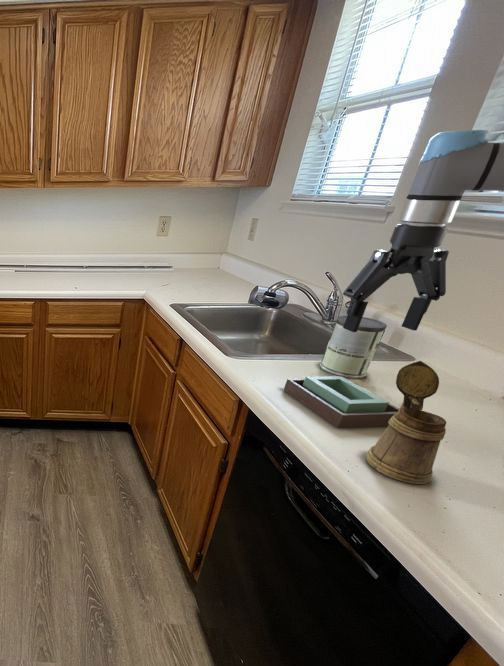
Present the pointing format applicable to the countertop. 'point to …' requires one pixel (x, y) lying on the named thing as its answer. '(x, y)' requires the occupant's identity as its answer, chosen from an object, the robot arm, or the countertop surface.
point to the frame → (344, 395)
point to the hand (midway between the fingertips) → (379, 329)
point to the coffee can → (352, 348)
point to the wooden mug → (410, 430)
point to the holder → (335, 415)
